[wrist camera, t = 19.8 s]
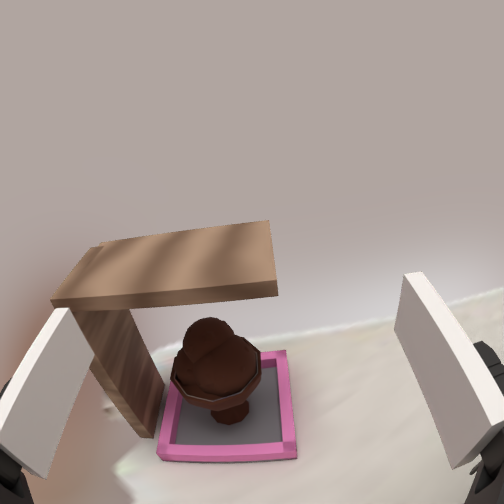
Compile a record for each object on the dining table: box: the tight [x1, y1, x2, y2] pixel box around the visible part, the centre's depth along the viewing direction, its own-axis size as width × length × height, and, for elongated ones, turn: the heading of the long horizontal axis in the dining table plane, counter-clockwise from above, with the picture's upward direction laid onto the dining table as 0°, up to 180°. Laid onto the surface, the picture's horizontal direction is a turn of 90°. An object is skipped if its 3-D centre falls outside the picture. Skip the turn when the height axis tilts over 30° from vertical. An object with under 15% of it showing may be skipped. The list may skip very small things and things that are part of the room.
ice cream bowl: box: [170, 317, 262, 425], centre depth 36 cm, size 11×11×15 cm
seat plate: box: [156, 350, 297, 463], centre depth 39 cm, size 17×17×2 cm
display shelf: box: [50, 220, 278, 438], centre depth 35 cm, size 20×11×24 cm, turn 90°
